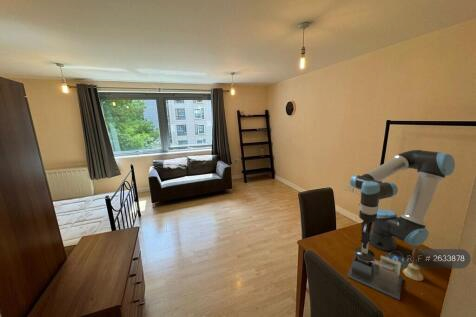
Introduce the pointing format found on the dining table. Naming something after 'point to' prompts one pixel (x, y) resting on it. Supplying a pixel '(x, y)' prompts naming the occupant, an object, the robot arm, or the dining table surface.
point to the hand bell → (414, 267)
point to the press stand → (378, 276)
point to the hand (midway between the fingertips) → (364, 252)
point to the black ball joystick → (369, 258)
